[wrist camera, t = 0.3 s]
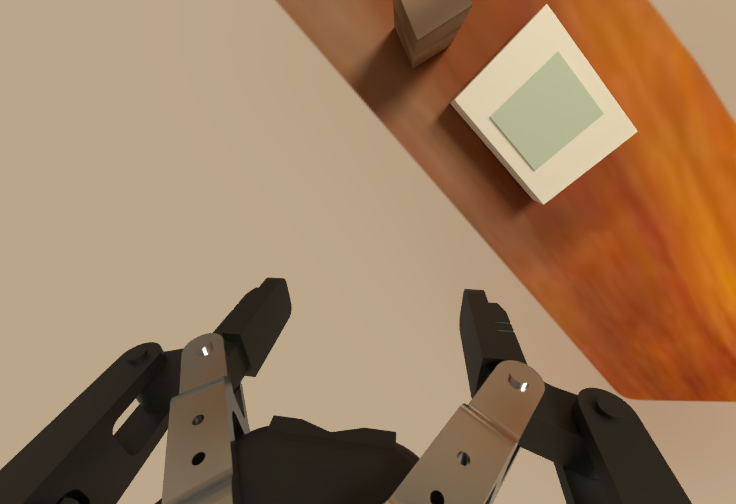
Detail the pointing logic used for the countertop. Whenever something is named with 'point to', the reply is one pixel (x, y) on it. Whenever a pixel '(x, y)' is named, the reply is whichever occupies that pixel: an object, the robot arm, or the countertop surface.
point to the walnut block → (428, 25)
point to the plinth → (543, 109)
